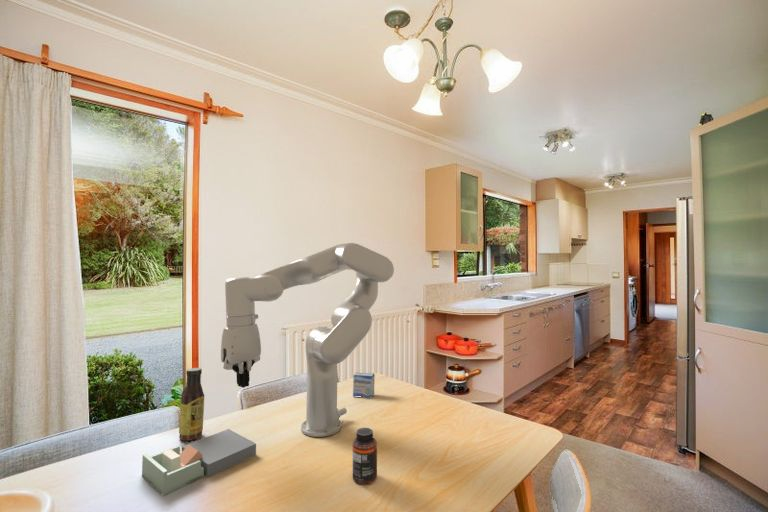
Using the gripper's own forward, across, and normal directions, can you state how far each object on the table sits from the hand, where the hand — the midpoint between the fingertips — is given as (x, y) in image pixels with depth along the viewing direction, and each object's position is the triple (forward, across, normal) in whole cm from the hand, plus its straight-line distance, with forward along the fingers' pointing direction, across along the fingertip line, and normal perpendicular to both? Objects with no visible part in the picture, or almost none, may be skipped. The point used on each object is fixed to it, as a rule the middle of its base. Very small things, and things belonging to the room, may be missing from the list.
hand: (243, 385), depth 100 cm
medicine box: (+20, -51, 0) cm, 55 cm away
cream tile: (+13, +18, 0) cm, 22 cm away
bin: (+16, +19, -1) cm, 25 cm away
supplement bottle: (+19, -9, +36) cm, 42 cm away
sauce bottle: (+17, +7, -18) cm, 25 cm away
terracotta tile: (+14, +15, 0) cm, 21 cm away
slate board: (+17, +7, -1) cm, 18 cm away
